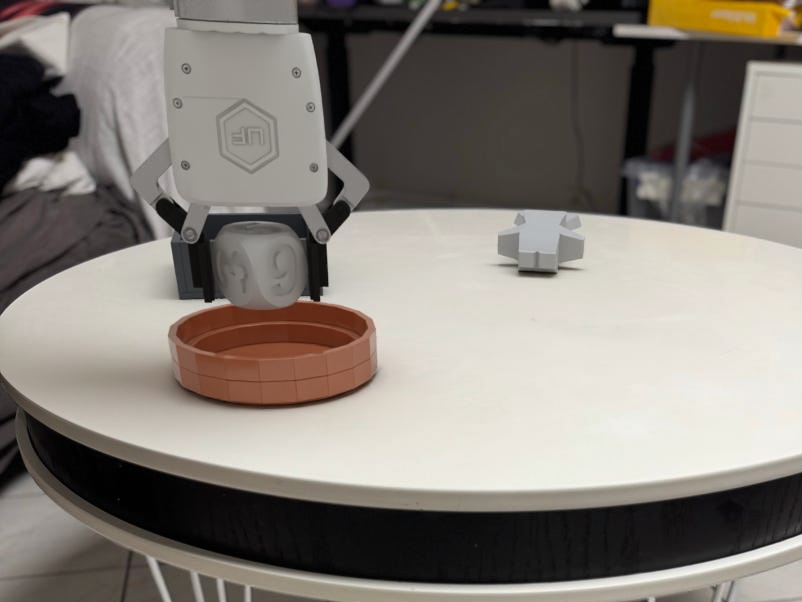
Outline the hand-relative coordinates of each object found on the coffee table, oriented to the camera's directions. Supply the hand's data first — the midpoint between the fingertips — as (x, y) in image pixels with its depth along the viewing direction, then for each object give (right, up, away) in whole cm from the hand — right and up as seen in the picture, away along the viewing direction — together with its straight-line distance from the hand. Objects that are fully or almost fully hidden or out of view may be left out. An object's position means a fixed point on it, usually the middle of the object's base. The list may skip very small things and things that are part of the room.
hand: (263, 295), depth 67 cm
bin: (-7, +12, +26) cm, 30 cm away
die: (0, 0, 0) cm, 1 cm away
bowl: (0, -5, +3) cm, 6 cm away
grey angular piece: (+23, +17, +36) cm, 46 cm away
